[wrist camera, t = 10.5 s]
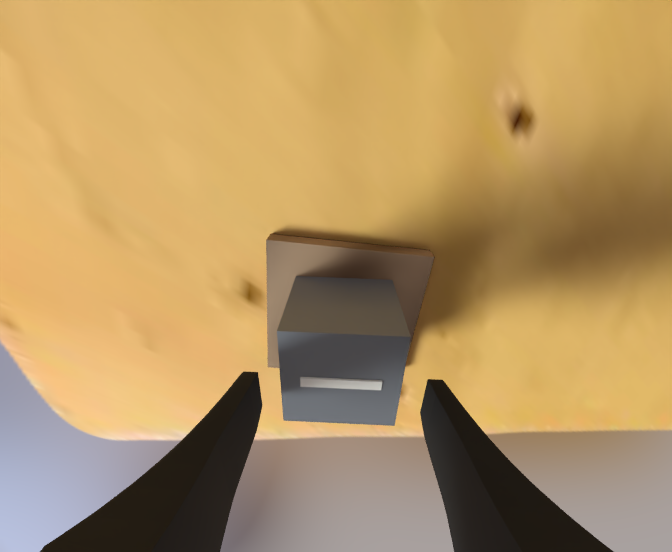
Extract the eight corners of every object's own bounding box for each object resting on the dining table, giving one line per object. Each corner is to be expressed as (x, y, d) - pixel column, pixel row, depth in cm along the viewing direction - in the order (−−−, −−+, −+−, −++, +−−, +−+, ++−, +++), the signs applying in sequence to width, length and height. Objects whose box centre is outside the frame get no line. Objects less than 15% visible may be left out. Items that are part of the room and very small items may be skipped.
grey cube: (392, 279, 16) (411, 338, 11) (382, 354, 18) (394, 427, 14) (296, 276, 16) (276, 332, 11) (298, 350, 18) (283, 422, 14)
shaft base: (429, 250, 16) (455, 285, 12) (398, 368, 20) (410, 422, 16) (270, 233, 16) (247, 264, 12) (271, 356, 20) (254, 408, 16)
